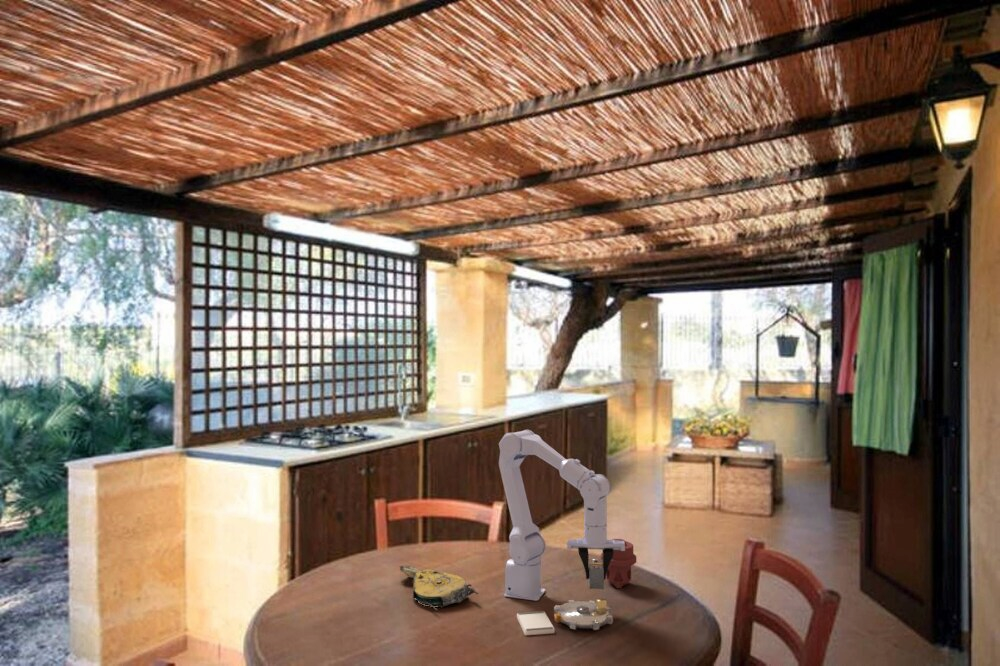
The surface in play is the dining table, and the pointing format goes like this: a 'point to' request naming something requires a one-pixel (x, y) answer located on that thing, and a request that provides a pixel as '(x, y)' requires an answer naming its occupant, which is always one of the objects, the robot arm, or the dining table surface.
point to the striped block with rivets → (596, 574)
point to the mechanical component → (621, 565)
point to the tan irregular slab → (437, 587)
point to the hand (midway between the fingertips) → (595, 578)
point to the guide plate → (535, 623)
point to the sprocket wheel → (584, 614)
